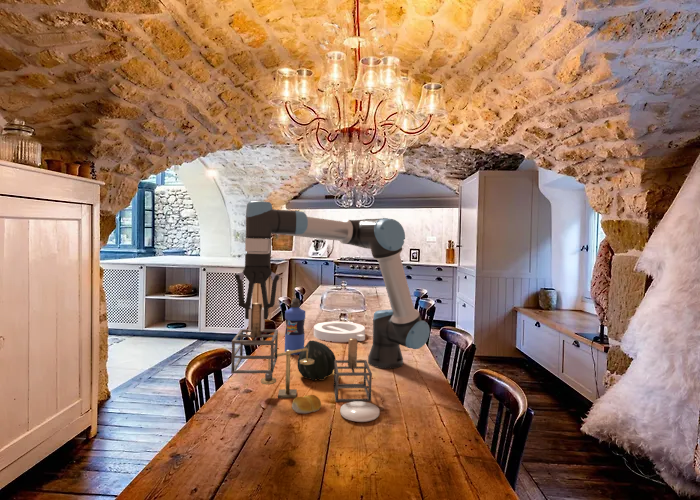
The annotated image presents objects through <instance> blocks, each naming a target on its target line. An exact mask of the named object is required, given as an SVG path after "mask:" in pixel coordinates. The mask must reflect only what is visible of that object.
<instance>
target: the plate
mask: <svg viewBox="0 0 700 500" xmlns="http://www.w3.org/2000/svg"><path fill="white" fill-rule="evenodd" d="M339 411H340V412H339V413H340V415H341V416H342V418H344V419H346V420H348V421H352V422H359V423H364V422H371V421H374V420H377V418H378V417H379V416H380V408H379V407H378V406H377V405H376V404H374V403H371V402H363V401H354V402H345V403H344V404H342V405H341V406H340V410H339Z"/></svg>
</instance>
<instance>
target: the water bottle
mask: <svg viewBox="0 0 700 500" xmlns="http://www.w3.org/2000/svg"><path fill="white" fill-rule="evenodd" d="M284 312H285V313H284V319H285V332H284V352H286V351H287V350H290V351H294V350H298V349H303V348H304V347H305V327H304V326H305V321H306V320H305V319H306V310H304V309H302V308H301V303H300V299H299V298H297V297H296V298H293V299H292V300H291V303H290V308H289V309H286V310H285V311H284ZM300 353H301V352H297V353H293V354H291V355H290V356H299V355H298V354H300Z"/></svg>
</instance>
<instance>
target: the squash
mask: <svg viewBox="0 0 700 500" xmlns="http://www.w3.org/2000/svg"><path fill="white" fill-rule="evenodd" d="M304 348H307V349H308V359H313V360H314V364H311V365H302V364H300V360H301V359H306V353H307V351H302V352H301V353H300V354H299V355H298V357H297V370H298V372H299V373H300V375H301V377H303V378H304V379H308V380H309V379H310V380H311V381H317V380H319V381H323V380H325V379H326V378H327V377H330V376H331V375H332V374H334V360H336V356H335V354H334V353H335V352H333V351H332V349H330V347H329V346H328V345H326V344H325V343H322V342H320V341H316V340H308V341H307V343H306V345H304Z"/></svg>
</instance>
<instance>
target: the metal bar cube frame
mask: <svg viewBox="0 0 700 500" xmlns="http://www.w3.org/2000/svg"><path fill="white" fill-rule="evenodd" d="M347 351H348V355H347V356H348V357H347V360H345V359H343V360H342V359H337V360H334V370H333V391H334V398H335V399H334V400H335V403H349V402H354V401H363V402H368V403H371V402H372V383H373V381H372V379H373V373H372V371H371V368H370V366H369V363H368V360H367V359H361V360H359V359H357V358H358V340H357V339H356V338H349V342H348V349H347ZM359 363H360V364H361V363H362V364H364V365H363V366H357V365H358V364H359ZM338 364H347V366H338ZM346 369H347V370H351V372H350V371H349V372H348V371H347V372H346V371H345V372H339V370H346ZM356 369H357V370H358V369H359V370H361V369H362V370H363V371H360V372H359V371H355V370H356ZM343 376H345V377H347V376H349V377H353V376H354V377H355V376H356V377H357V376H361V377H363V383H339V382H340V381H339V380H340V379H339V377H343ZM368 376H369V377H368ZM339 389H364V391H365V394H366V397H367V398H339Z"/></svg>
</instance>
